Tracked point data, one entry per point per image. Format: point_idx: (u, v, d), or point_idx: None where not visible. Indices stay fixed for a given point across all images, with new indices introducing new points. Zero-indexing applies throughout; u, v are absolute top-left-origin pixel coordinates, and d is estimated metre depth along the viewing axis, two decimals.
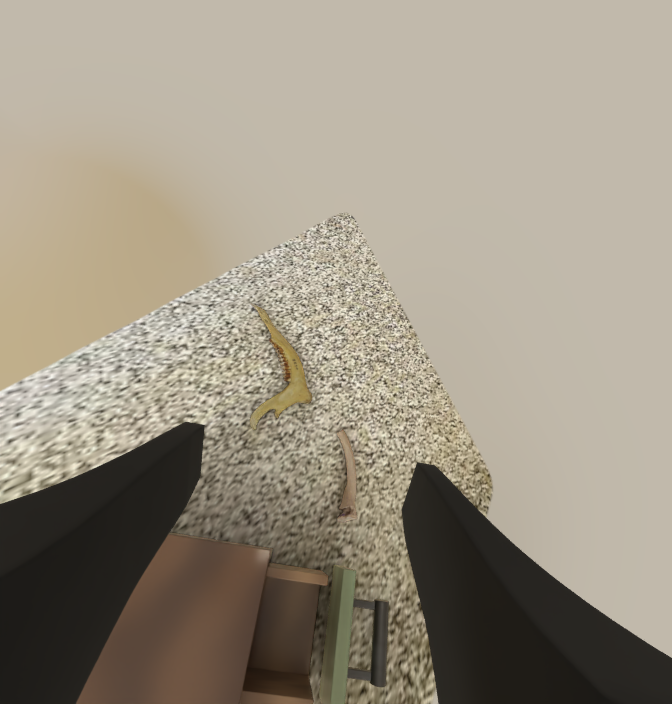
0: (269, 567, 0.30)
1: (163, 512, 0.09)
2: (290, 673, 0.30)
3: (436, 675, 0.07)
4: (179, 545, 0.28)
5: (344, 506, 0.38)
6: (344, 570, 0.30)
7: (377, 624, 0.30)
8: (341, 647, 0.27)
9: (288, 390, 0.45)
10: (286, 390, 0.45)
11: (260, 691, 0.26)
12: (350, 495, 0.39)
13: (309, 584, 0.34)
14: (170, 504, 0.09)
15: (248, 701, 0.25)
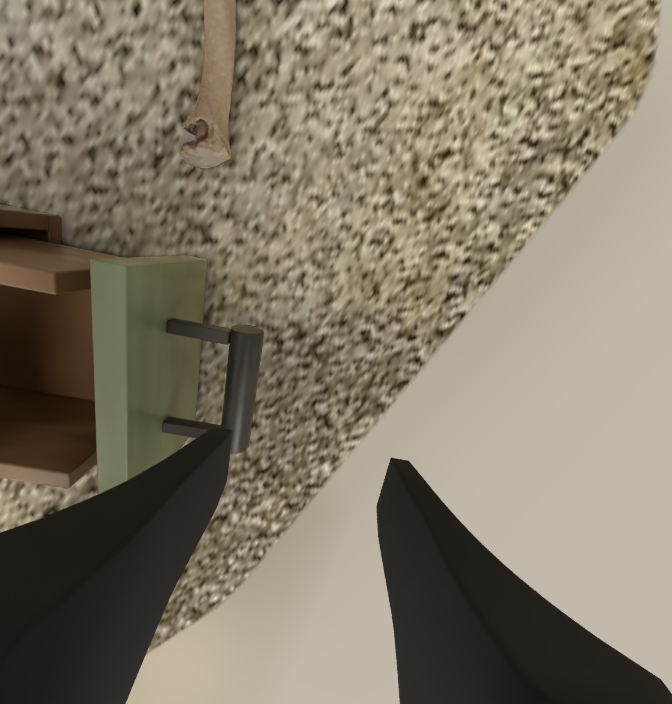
0: None
1: (197, 517, 0.09)
2: None
3: (399, 670, 0.07)
4: None
5: (190, 119, 0.14)
6: (92, 263, 0.10)
7: (230, 369, 0.14)
8: (107, 412, 0.12)
9: None
10: None
11: None
12: (208, 89, 0.14)
13: None
14: (203, 509, 0.09)
15: None
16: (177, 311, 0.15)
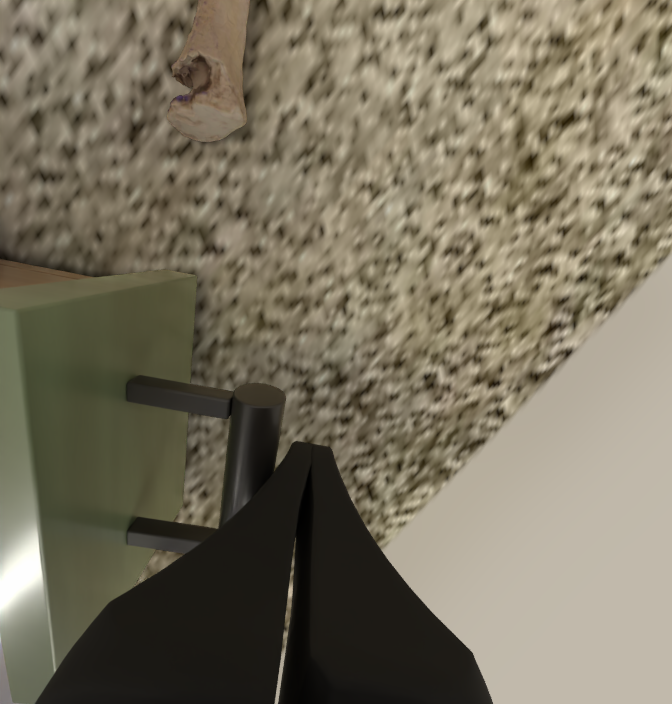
0: None
1: (295, 533, 0.09)
2: None
3: (285, 654, 0.07)
4: None
5: (181, 57, 0.09)
6: None
7: (231, 459, 0.09)
8: (8, 564, 0.07)
9: None
10: None
11: None
12: (212, 7, 0.09)
13: None
14: (297, 525, 0.09)
15: None
16: (148, 361, 0.09)
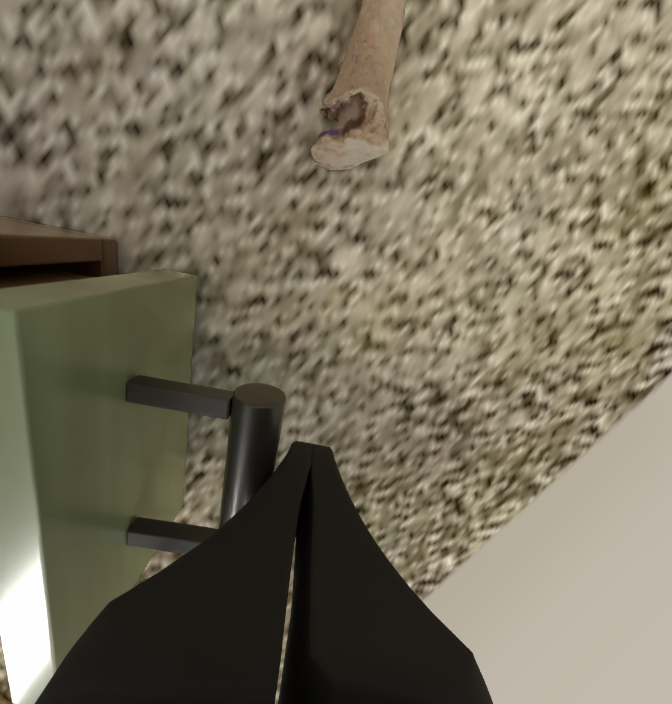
0: None
1: None
2: None
3: (285, 654, 0.07)
4: None
5: (339, 93, 0.09)
6: None
7: (231, 460, 0.09)
8: (8, 565, 0.07)
9: None
10: None
11: None
12: (371, 45, 0.09)
13: None
14: (297, 524, 0.09)
15: None
16: (147, 361, 0.09)
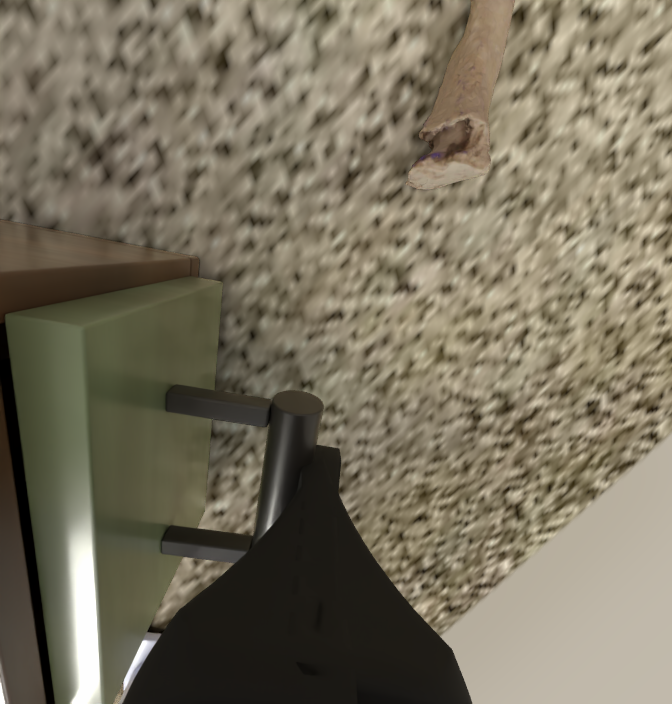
0: None
1: None
2: None
3: None
4: None
5: (446, 118, 0.09)
6: (10, 321, 0.05)
7: (270, 467, 0.09)
8: (61, 579, 0.07)
9: None
10: None
11: None
12: (479, 72, 0.09)
13: None
14: None
15: None
16: (182, 370, 0.09)
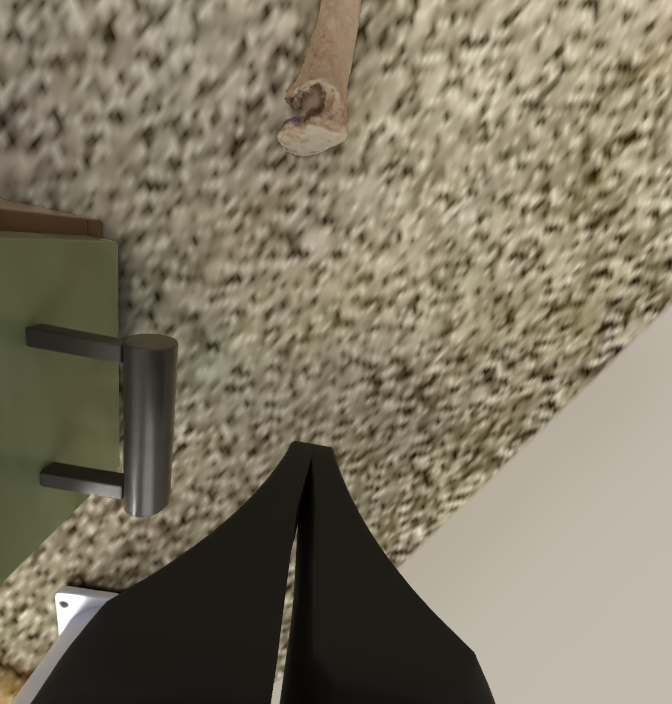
0: None
1: (293, 533, 0.09)
2: None
3: (287, 654, 0.07)
4: None
5: (300, 84, 0.10)
6: None
7: (125, 401, 0.09)
8: None
9: None
10: None
11: None
12: (329, 40, 0.10)
13: None
14: (296, 524, 0.09)
15: None
16: (54, 313, 0.10)
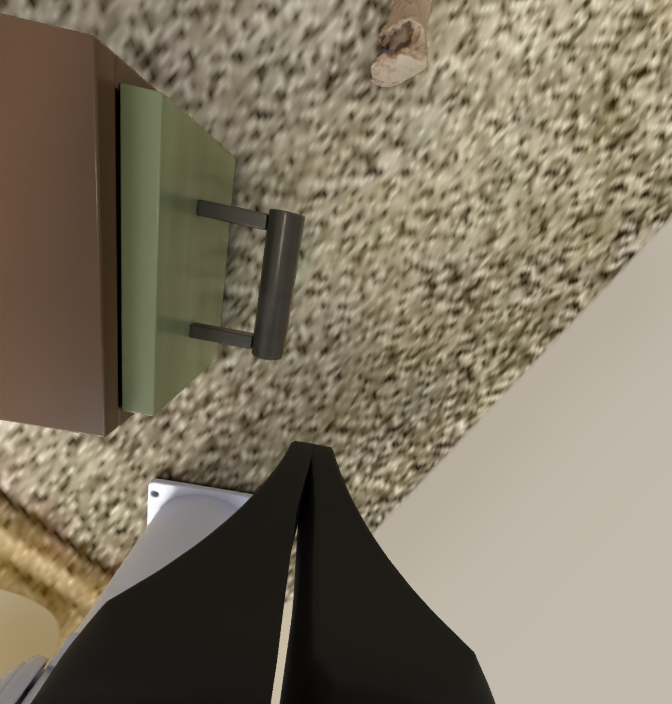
0: None
1: (293, 533, 0.09)
2: None
3: (287, 655, 0.07)
4: None
5: (395, 22, 0.13)
6: (122, 88, 0.09)
7: (267, 258, 0.13)
8: (135, 284, 0.11)
9: None
10: None
11: None
12: None
13: None
14: (296, 524, 0.09)
15: None
16: (208, 197, 0.13)
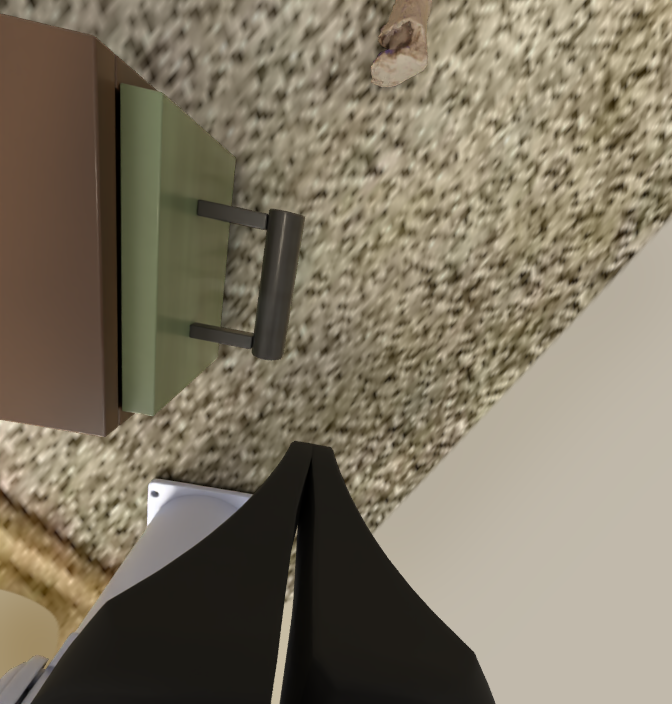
0: None
1: (293, 533, 0.09)
2: None
3: (287, 655, 0.07)
4: None
5: (395, 22, 0.13)
6: (122, 88, 0.09)
7: (267, 258, 0.13)
8: (135, 284, 0.11)
9: None
10: None
11: None
12: None
13: None
14: (296, 524, 0.09)
15: None
16: (208, 197, 0.13)
